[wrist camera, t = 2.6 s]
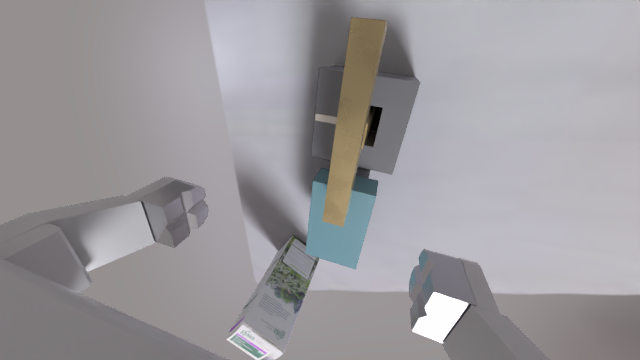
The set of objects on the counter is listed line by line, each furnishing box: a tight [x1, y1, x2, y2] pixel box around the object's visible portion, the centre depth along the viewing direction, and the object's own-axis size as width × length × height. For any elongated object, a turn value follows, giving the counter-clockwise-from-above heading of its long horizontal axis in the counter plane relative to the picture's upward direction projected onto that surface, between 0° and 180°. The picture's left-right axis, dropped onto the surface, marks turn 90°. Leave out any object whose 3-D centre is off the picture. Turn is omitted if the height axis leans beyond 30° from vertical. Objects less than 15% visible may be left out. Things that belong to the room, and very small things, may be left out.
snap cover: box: [305, 168, 378, 269], centre depth 25 cm, size 10×6×3 cm, turn 174°
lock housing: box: [311, 66, 420, 178], centre depth 25 cm, size 18×8×5 cm, turn 174°
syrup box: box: [226, 236, 319, 360], centre depth 31 cm, size 6×6×14 cm
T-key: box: [322, 17, 388, 227], centre depth 20 cm, size 14×2×10 cm, turn 174°
